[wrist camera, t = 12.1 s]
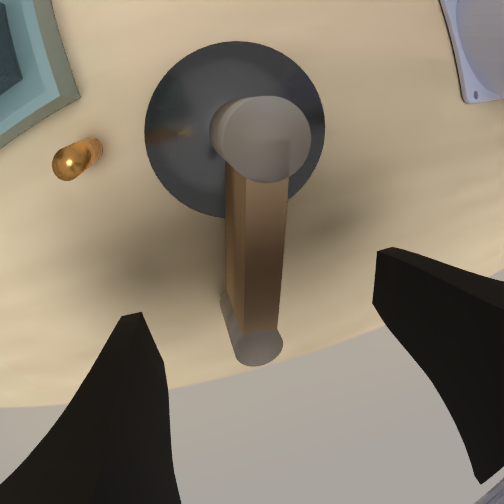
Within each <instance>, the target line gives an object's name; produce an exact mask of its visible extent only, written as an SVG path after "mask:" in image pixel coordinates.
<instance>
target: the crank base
mask: <svg viewBox="0 0 504 504" xmlns="http://www.w3.org/2000/svg"><path fill="white" fill-rule="evenodd" d="M259 96H277V97H281V98H284V99H286V100H288V101H290V102H292V103H293V104H294V105H296V106H297V107H298V108H299V109H300V110H301V111H302V113H303V114H304V115H305V117H306V119H307V121H308V124H309V127H310V131H311V145H310V150H309V153H308V156H307V158H306V160H305V162H304V163H303V165H302V166H301V167H300V168H299V169H298V171H296V172H295V173H294V174H293V175H291V176H290V177H289V183H288V198H287V200H288V199H290V198H291V197H292V196H293V195H295V194H296V193H297V192H298V191H299V190H300V189H301V188H302V186H303V185H304V184H305V183H306V181H307V180H308V179H309V177H310V176H311V174H312V172H313V171H314V169H315V167H316V165H317V163H318V160H319V158H320V155H321V152H322V148H323V143H324V136H325V120H324V112H323V107H322V104H321V101H320V98H319V95H318V93H317V91H316V89H315V87H314V85H313V83H312V82H311V80H310V79H309V77H308V76H307V75H306V73H305V72H304V71H303V70H302V69H301V68H300V67H299V66H298V65H297V64H296V63H295V62H294V61H292V60H291V59H290V58H288V57H287V56H285V55H284V54H282V53H280V52H278V51H276V50H274V49H272V48H270V47H267V46H264V45H261V44H256V43H251V42H240V41H232V42H222V43H217V44H213V45H209V46H207V47H204V48H201V49H199V50H197V51H195V52H193V53H191V54H189V55H187V56H186V57H185V58H183V59H182V60H180V61H179V62H178V63H177V64H175V65H174V66H173V67H172V68H171V69H170V70H169V71H168V72H167V74H166V75H165V76H164V77H163V79H162V80H161V81H160V83H159V84H158V86H157V88H156V90H155V91H154V93H153V96H152V98H151V100H150V103H149V106H148V110H147V114H146V120H145V144H146V150H147V154H148V157H149V160H150V163H151V166H152V168H153V170H154V172H155V174H156V176H157V177H158V179H159V180H160V182H161V183H162V184H163V186H164V187H165V188H166V189H167V190H168V191H169V192H170V193H171V194H172V195H173V196H174V197H175V198H176V199H178V200H179V201H180V202H182V203H183V204H185V205H186V206H188V207H190V208H192V209H194V210H196V211H198V212H201V213H204V214H207V215H210V216H215V217H221V218H225V164H226V161H225V160H224V159H223V158H222V157H221V156H220V155H219V154H218V153H217V152H216V151H215V149H214V148H213V146H212V144H211V141H210V137H209V126H210V122H211V119H212V117H213V115H214V114H215V112H216V111H217V110H218V109H219V108H220V107H221V106H222V105H224V104H225V103H227V102H229V101H232V100H235V99H242V98H250V97H259ZM102 152H103V147H102V144H101V142H100V141H99V140H98V139H96V138H93V137H90V138H86V139H84V140H81V141H79V142H76V143H74V144H71V145H69V146H67V147H64V148H62V149H60V150H59V151H58V152H57V153H56V154H55V156H54V158H53V161H52V168H53V171H54V173H55V175H56V176H57V177H58V178H59V179H61V180H64V181H70V180H73V179H75V178H76V177H77V176H78V175H80V174H81V173H82V172H83V171H85V170H86V169H87V168H88V167H90V166H91V165H92V164H94V163H95V162H96V161H97V160H99V158H100V157H101V155H102Z"/></svg>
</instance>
